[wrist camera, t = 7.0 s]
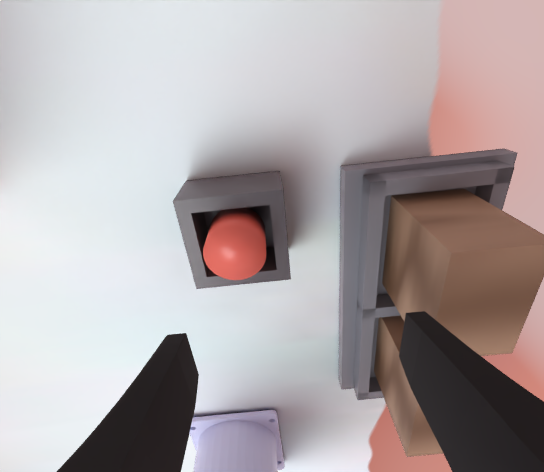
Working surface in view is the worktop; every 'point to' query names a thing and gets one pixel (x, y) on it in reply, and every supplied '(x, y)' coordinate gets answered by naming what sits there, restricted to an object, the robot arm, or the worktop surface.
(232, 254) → the button cap
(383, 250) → the grey divided tray
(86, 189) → the worktop surface
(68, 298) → the worktop surface
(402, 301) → the block
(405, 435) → the block
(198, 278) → the button housing
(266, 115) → the worktop surface
